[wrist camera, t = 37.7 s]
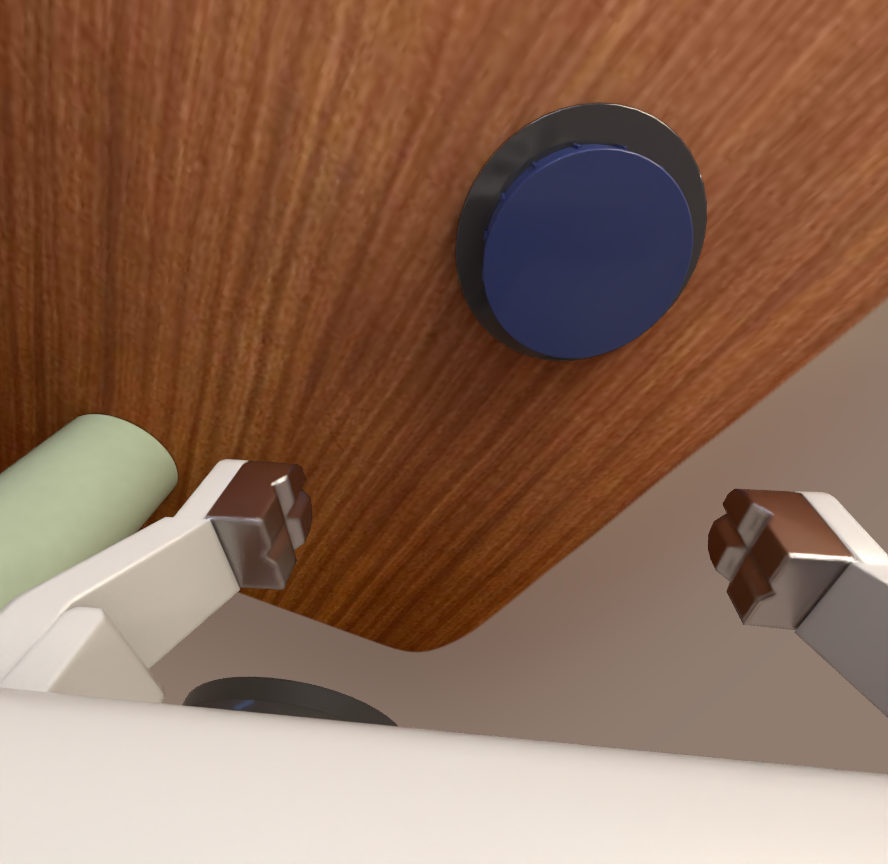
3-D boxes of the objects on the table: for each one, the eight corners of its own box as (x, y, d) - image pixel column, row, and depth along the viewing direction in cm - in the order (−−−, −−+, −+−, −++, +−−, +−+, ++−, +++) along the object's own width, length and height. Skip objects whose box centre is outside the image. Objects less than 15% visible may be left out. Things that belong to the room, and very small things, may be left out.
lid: (489, 141, 15) (488, 145, 13) (703, 144, 14) (728, 148, 13) (478, 335, 19) (476, 355, 17) (644, 342, 18) (658, 364, 17)
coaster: (661, 358, 19) (665, 365, 19) (455, 351, 20) (454, 358, 20) (741, 101, 14) (749, 101, 14) (457, 104, 15) (456, 104, 14)
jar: (193, 501, 28) (-2, 756, 17) (97, 495, 28) (-153, 739, 17) (152, 416, 24) (-133, 673, 13) (42, 411, 24) (-322, 655, 13)
